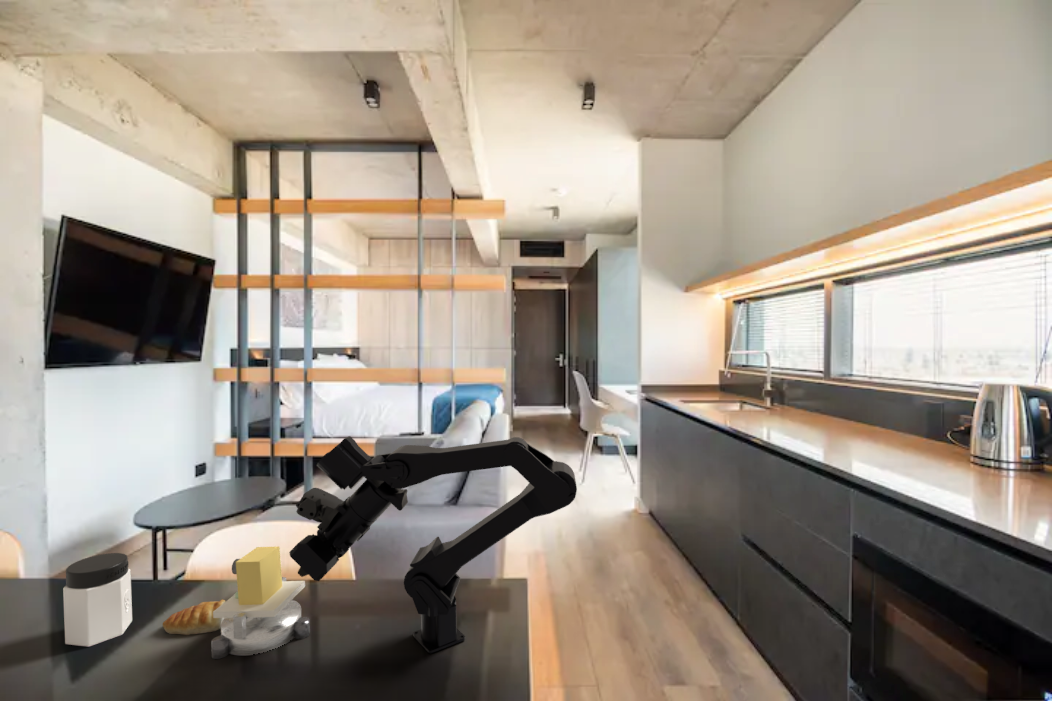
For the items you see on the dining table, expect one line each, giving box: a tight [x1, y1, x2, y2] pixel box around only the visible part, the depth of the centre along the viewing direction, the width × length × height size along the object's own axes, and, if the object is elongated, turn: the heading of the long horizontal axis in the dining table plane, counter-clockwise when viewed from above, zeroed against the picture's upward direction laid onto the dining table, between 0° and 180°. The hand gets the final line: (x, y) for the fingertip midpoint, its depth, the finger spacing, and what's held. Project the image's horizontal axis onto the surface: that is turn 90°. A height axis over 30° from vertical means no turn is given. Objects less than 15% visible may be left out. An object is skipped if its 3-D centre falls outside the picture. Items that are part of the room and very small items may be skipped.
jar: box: [62, 552, 133, 647], centre depth 89 cm, size 9×8×12 cm
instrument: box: [213, 545, 306, 619], centre depth 88 cm, size 10×11×8 cm
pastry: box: [162, 598, 227, 636], centre depth 91 cm, size 9×7×4 cm
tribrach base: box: [210, 576, 311, 660], centre depth 88 cm, size 14×14×6 cm
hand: (300, 574), depth 88 cm, fingers closed
